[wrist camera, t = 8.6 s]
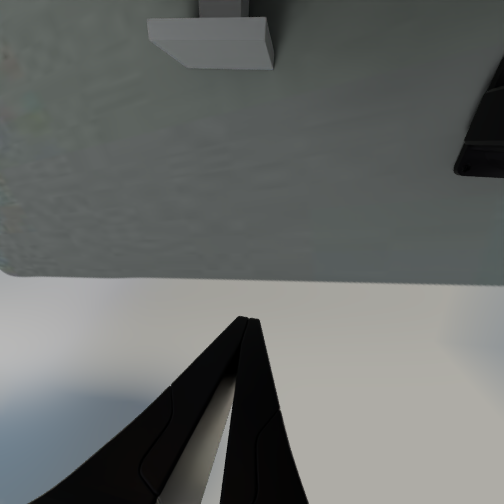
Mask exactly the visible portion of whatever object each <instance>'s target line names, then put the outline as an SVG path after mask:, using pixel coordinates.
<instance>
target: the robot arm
mask: <svg viewBox="0 0 504 504" xmlns="http://www.w3.org/2000/svg"><path fill="white" fill-rule="evenodd" d="M464 141H465V144H464V146H463V148H462V150H461V153H460V155H459V157H458V159H457V162H456V164H455V166H454V173H455V174H457V175H461V176H475V177H494V178H504V57H503V59H502V61H501V62H500V65H499V67H498V69H497V71H496V74H495V76H494V78H493V80H492V83H491V85H490V87H489V89H488V92H487V93H485V94H484V96H483V98H482V100H481V103H480V105H479V107H478V110H477V112H476V114H475V116H474V119H473V121H472V123H471V125H470V128H469V130H468V132H467V135H466V137H465V139H464ZM466 164H467V168H466V169H465V170H464V171H462V167H463V166H464V165H466ZM232 402H233V406H232V413H231V421H230V429H229V436H228V445H227V453H226V459H225V467H224V475H223V483H222V490H221V497H220V504H309V503H308V500H307V497H306V494H305V491H304V488H303V486H302V483H301V479H300V477H299V474H298V470H297V468H296V464H295V461H294V458H293V455H292V451H291V448H290V445H289V441H288V437H287V433H286V430H285V426H284V422H283V417H282V413H281V410H280V405H279V401H278V396H277V392H276V388H275V383H274V379H273V375H272V371H271V367H270V362H269V358H268V353H267V349H266V345H265V341H264V336H263V332H262V328H261V323H260V320H259V319H255V318H248V317H243V316H238V317H237V318H236V319H235V320H234V321H233V322H232V323H231V324H230V325H229V326H228V327H227V328H226V329H225V330H224V331H223V332H222V333H221V334H220V335H219V336H218V337H217V338H216V339H215V340H214V341H213V342H212V343H211V344H210V345H209V346H208V347H207V348H206V349H205V350H204V351H203V352H202V354H200V355H199V356H198V357H197V358H196V359H195V360H194V362H193V363H191V365H190V366H189V367H188V368H187V369H186V370H185V371H184V372H183V373H182V374H181V375H180V376H179V377H178V378H177V379H176V380H175V381H174V382H173V383H172V384H171V386H169V387H168V388H167V389H166V390H165V391H164V392H163V393H162V394H161V395H160V396H159V397H158V398H157V399H156V400H155V401H154V402H153V403H151V404H150V405H149V406H148V407H147V408H146V409H145V410H144V411H143V412H142V413H141V414H140V415H139V416H138V417H136V418H135V419H134V420H133V421H132V422H131V423H130V424H129V425H127V426H126V427H125V428H124V429H123V430H122V431H120V432H119V433H118V434H117V435H116V436H115V437H113V438H112V439H111V440H110V441H109V442H107V443H106V444H105V445H104V446H103V447H102V448H100V449H99V450H98V451H97V452H96V453H95V454H93V455H92V456H91V457H90V458H89V459H88V460H86V461H85V462H84V463H83V464H82V465H81V466H80V467H78V468H77V469H76V470H75V471H74V472H72V473H71V474H70V475H69V476H67V477H66V478H65V479H64V480H62V481H61V482H60V483H58V484H57V485H56V486H54V487H53V488H52V489H50V490H49V491H47V492H46V493H44V494H43V495H41V496H40V497H38V498H36V499H35V500H33V501H31V502H30V503H28V504H201V500H202V498H203V494H204V491H205V488H206V485H207V482H208V478H209V475H210V472H211V469H212V466H213V462H214V459H215V456H216V453H217V449H218V446H219V443H220V440H221V437H222V434H223V431H224V427H225V424H226V421H227V418H228V415H229V411H230V408H231V405H232Z"/></svg>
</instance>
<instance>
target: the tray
mask: <svg viewBox="0 0 504 504" xmlns="http://www.w3.org/2000/svg"><path fill="white" fill-rule="evenodd" d="M147 26H148V34H149V40H150V41H151V42H152V43H154V44H155V45H156V46H158V47H159V48H161V49H162V50H163V51H165V52H166V53H167V54H169V55H170V56H172V57H173V58H174V59H176V60H177V61H178V62H180V63H181V64H183V65H184V66H185V67H187V68H200V69H248V70H273V66H274V50H273V45H272V41H271V36H270V32H269V27H268V23H267V18H266V17H249V0H199V18H151V19H147Z"/></svg>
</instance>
